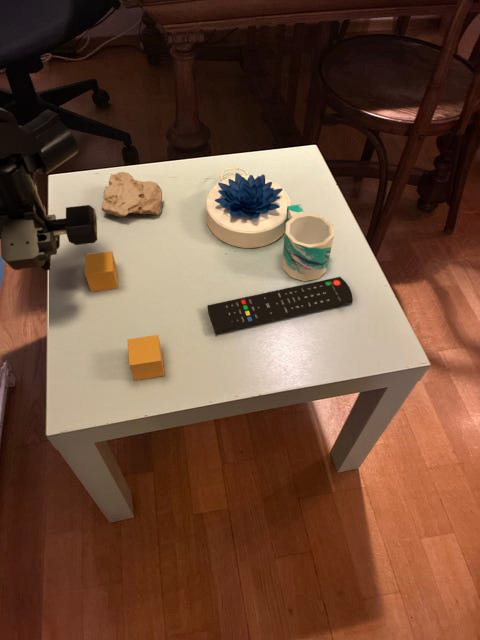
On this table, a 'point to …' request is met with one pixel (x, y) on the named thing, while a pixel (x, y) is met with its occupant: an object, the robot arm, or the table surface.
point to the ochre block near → (145, 357)
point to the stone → (131, 196)
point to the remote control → (279, 304)
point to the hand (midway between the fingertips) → (47, 268)
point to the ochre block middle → (101, 271)
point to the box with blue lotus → (247, 210)
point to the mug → (306, 244)
